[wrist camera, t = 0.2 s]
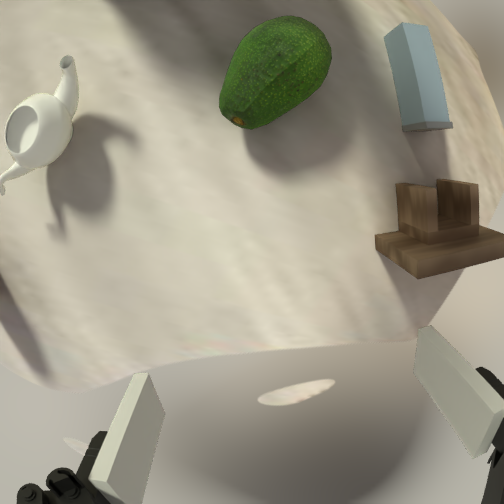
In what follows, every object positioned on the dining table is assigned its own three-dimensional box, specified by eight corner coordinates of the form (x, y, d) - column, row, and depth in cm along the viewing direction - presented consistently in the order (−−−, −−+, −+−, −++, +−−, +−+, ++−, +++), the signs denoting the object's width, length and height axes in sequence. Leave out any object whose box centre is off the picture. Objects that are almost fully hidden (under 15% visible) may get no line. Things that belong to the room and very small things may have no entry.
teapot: (10, 171, 37) (-30, 176, 28) (82, 58, 33) (49, 39, 24) (45, 209, 39) (7, 221, 30) (125, 92, 35) (95, 75, 26)
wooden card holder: (370, 186, 39) (415, 196, 27) (462, 177, 39) (517, 186, 27) (375, 249, 41) (417, 279, 30) (464, 232, 41) (515, 254, 29)
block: (382, 37, 33) (402, 21, 27) (408, 39, 33) (429, 25, 27) (402, 131, 37) (426, 128, 31) (427, 131, 37) (453, 128, 31)
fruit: (259, 150, 38) (265, 144, 28) (198, 99, 36) (184, 79, 26) (337, 68, 35) (364, 43, 25) (278, 21, 33) (288, -16, 23)
